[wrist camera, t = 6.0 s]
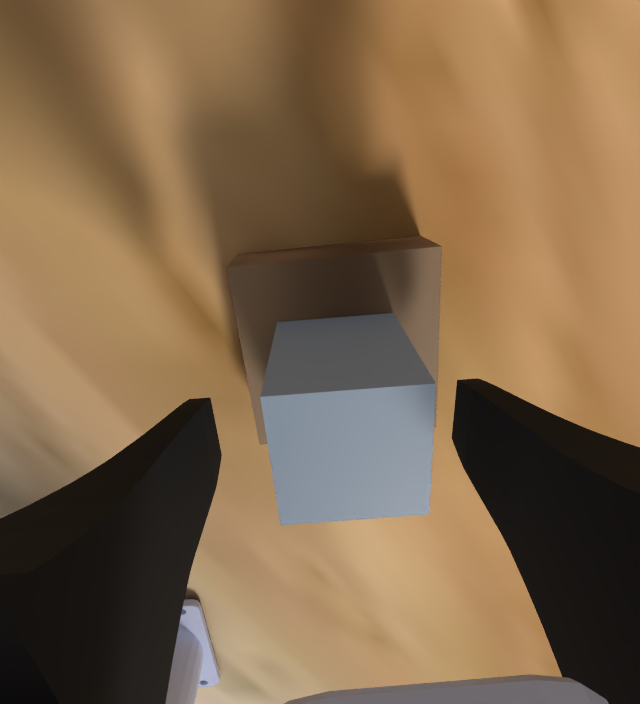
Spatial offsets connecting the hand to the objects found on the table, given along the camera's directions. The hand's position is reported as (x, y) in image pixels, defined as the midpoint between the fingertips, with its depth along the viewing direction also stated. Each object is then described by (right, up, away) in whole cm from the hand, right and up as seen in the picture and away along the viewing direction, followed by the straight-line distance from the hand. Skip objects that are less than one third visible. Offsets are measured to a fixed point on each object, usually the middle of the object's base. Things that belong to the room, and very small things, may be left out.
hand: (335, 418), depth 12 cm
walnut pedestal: (0, +3, +5) cm, 6 cm away
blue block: (0, +1, +3) cm, 3 cm away
